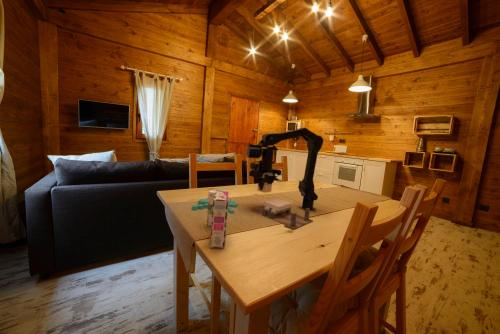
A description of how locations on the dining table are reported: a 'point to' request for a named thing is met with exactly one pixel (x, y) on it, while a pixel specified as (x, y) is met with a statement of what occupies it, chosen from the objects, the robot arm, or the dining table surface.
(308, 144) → the robot arm
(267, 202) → the slab
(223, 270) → the dining table surface
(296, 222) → the roller bed
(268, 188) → the support block
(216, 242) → the candy bar box
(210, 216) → the syrup box
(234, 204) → the alien figure
